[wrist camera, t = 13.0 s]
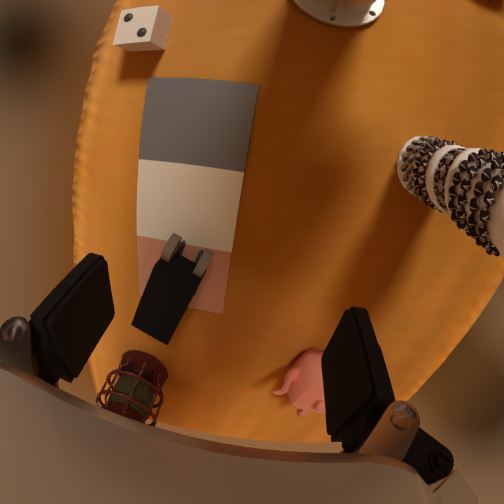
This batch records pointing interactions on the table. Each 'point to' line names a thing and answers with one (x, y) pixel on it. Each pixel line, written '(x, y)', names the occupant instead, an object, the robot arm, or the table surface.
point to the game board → (193, 175)
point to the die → (143, 29)
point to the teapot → (305, 383)
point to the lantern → (135, 387)
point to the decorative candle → (458, 185)
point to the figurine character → (170, 290)
